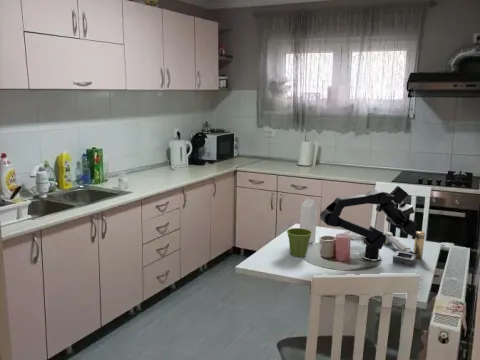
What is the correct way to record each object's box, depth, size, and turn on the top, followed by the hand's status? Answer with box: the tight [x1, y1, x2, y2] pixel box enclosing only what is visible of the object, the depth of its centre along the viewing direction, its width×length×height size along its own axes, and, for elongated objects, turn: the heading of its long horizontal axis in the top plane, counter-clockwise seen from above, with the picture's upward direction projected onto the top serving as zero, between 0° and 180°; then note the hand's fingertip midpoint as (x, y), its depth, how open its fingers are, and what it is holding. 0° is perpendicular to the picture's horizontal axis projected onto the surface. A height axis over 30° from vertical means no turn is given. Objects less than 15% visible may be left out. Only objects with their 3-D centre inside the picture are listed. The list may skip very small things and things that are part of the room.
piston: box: [412, 230, 426, 260], centre depth 221 cm, size 4×4×12 cm
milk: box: [299, 197, 318, 245], centre depth 239 cm, size 6×6×22 cm
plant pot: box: [286, 227, 312, 258], centre depth 219 cm, size 12×12×11 cm
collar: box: [392, 250, 417, 267], centre depth 216 cm, size 9×9×3 cm
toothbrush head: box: [383, 231, 414, 254], centre depth 233 cm, size 5×7×25 cm
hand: (411, 234), depth 219 cm, fingers open, 9 cm apart
